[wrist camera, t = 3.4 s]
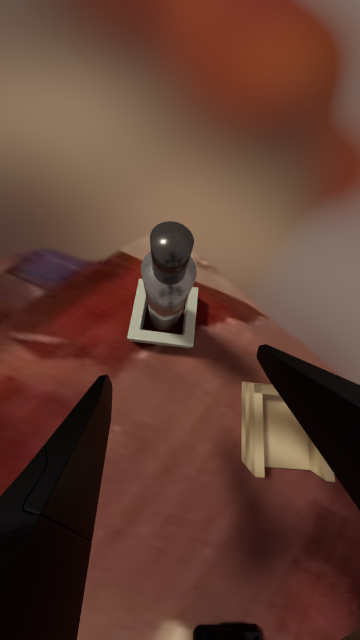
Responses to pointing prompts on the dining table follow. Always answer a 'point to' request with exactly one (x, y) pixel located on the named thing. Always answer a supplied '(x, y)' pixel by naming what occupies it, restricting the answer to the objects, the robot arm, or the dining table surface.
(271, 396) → the beige square tray
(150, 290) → the silver and grey cylinder
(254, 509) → the dining table surface
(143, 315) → the socket block
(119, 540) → the dining table surface
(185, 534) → the dining table surface
